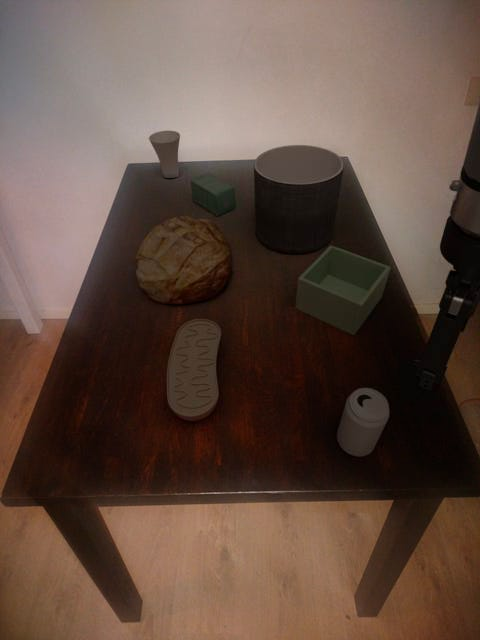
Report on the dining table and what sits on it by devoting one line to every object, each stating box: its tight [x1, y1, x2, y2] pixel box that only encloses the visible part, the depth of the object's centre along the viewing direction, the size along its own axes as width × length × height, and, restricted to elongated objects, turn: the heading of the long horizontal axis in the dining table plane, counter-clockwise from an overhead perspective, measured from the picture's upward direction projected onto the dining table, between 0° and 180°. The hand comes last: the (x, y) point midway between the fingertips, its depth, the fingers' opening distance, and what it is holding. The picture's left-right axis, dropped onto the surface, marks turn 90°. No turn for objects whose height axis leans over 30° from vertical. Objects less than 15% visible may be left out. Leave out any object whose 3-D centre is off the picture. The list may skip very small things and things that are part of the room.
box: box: [190, 172, 236, 217], centre depth 119 cm, size 7×14×8 cm, turn 40°
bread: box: [134, 214, 235, 305], centre depth 94 cm, size 25×27×15 cm
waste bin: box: [295, 244, 392, 336], centre depth 86 cm, size 15×15×9 cm
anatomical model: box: [166, 318, 222, 422], centre depth 74 cm, size 23×10×5 cm, turn 0°
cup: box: [148, 130, 181, 174], centre depth 133 cm, size 10×10×14 cm
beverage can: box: [336, 387, 390, 457], centre depth 61 cm, size 6×6×12 cm
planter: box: [253, 144, 345, 255], centre depth 102 cm, size 22×22×20 cm
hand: (439, 359), depth 52 cm, fingers open, 13 cm apart
